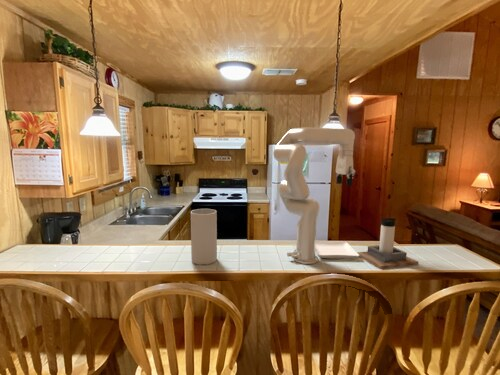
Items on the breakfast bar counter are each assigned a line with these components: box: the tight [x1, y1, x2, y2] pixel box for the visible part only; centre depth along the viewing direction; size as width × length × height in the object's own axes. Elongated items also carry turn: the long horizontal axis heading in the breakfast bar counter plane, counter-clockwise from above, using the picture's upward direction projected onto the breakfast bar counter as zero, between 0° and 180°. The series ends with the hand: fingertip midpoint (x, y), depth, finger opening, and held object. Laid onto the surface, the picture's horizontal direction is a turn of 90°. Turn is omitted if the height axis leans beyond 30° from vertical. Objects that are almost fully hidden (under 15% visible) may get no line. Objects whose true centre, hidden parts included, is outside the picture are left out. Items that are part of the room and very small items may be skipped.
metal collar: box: [367, 244, 407, 263], centre depth 139 cm, size 12×12×4 cm
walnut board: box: [356, 250, 419, 270], centre depth 139 cm, size 22×18×2 cm
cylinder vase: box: [190, 208, 218, 265], centre depth 135 cm, size 12×12×25 cm
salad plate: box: [315, 240, 360, 260], centre depth 148 cm, size 21×21×3 cm
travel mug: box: [379, 217, 397, 254], centre depth 138 cm, size 6×7×20 cm
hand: (343, 184), depth 153 cm, fingers open, 9 cm apart
